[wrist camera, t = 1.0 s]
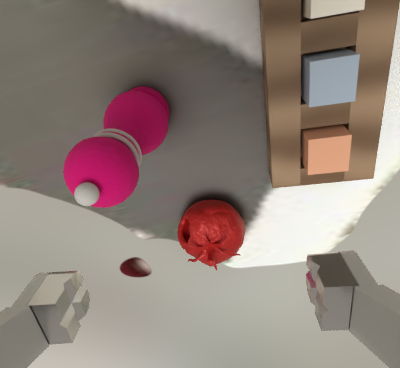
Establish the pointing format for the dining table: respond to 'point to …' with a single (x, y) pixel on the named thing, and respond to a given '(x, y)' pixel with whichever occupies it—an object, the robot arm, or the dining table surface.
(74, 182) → the pepper mill
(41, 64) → the dining table surface
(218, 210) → the red tomato
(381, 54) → the button panel
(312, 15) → the cream button
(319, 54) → the slate button
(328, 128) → the terracotta button
